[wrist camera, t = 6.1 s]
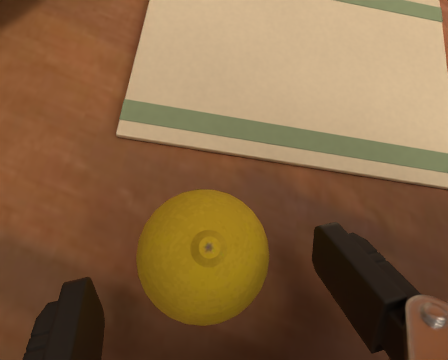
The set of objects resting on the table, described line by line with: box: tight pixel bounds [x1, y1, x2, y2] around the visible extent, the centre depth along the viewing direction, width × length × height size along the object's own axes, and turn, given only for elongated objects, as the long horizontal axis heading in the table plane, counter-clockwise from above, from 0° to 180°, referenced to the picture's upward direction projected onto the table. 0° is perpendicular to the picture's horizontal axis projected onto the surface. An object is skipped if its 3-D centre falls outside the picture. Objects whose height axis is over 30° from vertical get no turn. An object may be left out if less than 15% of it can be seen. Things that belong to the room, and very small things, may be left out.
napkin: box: [116, 0, 448, 190], centre depth 22 cm, size 22×16×1 cm
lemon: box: [136, 189, 269, 326], centre depth 13 cm, size 6×6×8 cm
